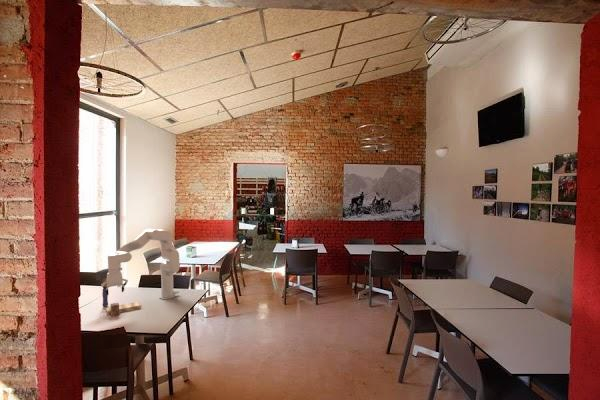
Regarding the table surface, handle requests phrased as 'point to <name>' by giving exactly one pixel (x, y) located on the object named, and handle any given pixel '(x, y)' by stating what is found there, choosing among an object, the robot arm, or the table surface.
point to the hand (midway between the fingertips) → (115, 293)
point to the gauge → (114, 309)
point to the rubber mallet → (100, 276)
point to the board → (125, 307)
